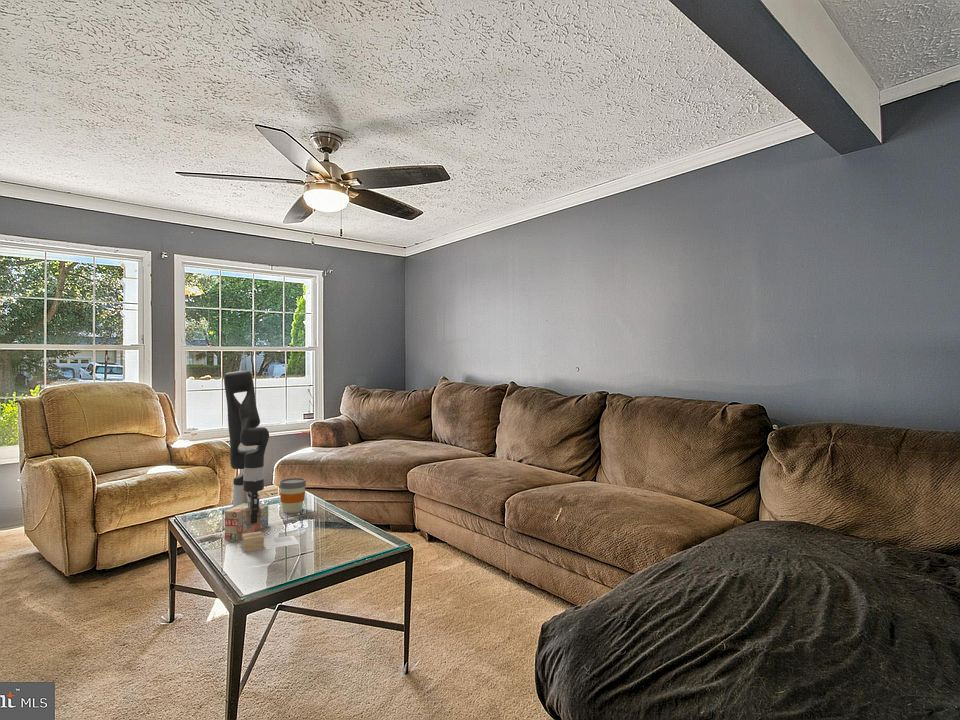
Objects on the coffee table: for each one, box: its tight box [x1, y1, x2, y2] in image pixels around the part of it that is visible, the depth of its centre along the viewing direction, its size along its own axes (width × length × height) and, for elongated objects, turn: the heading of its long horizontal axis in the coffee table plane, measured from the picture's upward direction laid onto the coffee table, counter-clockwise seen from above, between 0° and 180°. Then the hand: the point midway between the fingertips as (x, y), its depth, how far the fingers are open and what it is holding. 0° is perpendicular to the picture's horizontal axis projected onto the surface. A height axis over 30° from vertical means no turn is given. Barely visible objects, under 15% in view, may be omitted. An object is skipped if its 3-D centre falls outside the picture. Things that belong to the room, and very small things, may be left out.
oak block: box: [241, 530, 265, 553], centre depth 200 cm, size 7×7×5 cm
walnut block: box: [245, 507, 261, 526], centre depth 200 cm, size 5×5×6 cm
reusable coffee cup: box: [279, 477, 307, 514], centre depth 254 cm, size 13×13×15 cm
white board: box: [236, 535, 300, 554], centre depth 205 cm, size 12×22×1 cm, turn 121°
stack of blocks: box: [224, 503, 269, 541], centre depth 220 cm, size 21×6×12 cm, turn 169°
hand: (253, 521), depth 200 cm, fingers closed on walnut block, 5 cm apart
